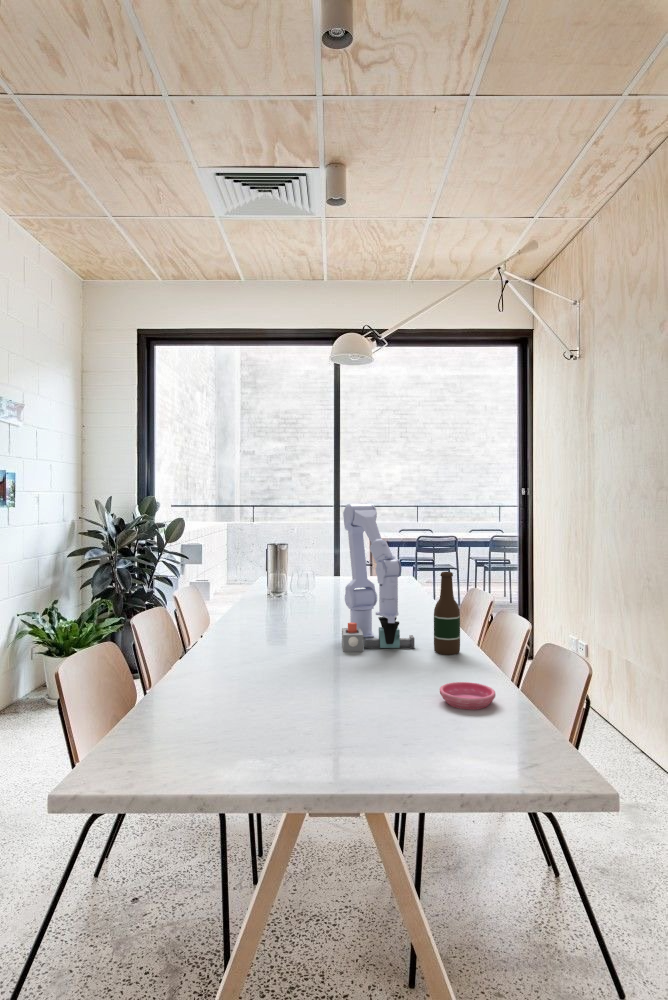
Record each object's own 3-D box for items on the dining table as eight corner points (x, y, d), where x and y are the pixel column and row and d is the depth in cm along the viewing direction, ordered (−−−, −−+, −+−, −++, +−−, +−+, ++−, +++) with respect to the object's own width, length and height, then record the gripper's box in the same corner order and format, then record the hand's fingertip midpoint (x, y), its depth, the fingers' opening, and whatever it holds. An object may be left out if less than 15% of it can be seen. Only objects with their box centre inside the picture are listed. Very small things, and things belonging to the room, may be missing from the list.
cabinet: (341, 643, 202) (341, 628, 202) (360, 643, 203) (360, 627, 203) (343, 651, 192) (343, 635, 192) (363, 651, 192) (363, 635, 192)
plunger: (347, 635, 199) (347, 622, 199) (356, 635, 199) (356, 622, 199) (348, 637, 196) (347, 624, 196) (357, 637, 196) (357, 624, 196)
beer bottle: (448, 656, 186) (448, 574, 186) (428, 651, 192) (428, 572, 192) (465, 652, 191) (465, 572, 191) (445, 647, 197) (444, 569, 197)
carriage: (378, 644, 200) (378, 627, 200) (397, 644, 200) (397, 627, 200) (380, 647, 196) (380, 630, 195) (399, 647, 196) (399, 630, 196)
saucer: (498, 697, 149) (498, 684, 149) (492, 715, 137) (492, 700, 137) (444, 692, 153) (444, 679, 153) (435, 709, 141) (434, 694, 141)
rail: (364, 645, 200) (364, 635, 200) (412, 645, 200) (412, 635, 200) (365, 648, 196) (365, 638, 196) (414, 648, 196) (414, 637, 196)
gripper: (373, 594, 205) (373, 636, 205) (378, 602, 190) (378, 647, 190) (395, 594, 205) (395, 636, 205) (401, 601, 191) (401, 647, 191)
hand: (388, 641), depth 198 cm, fingers closed on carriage, 4 cm apart
